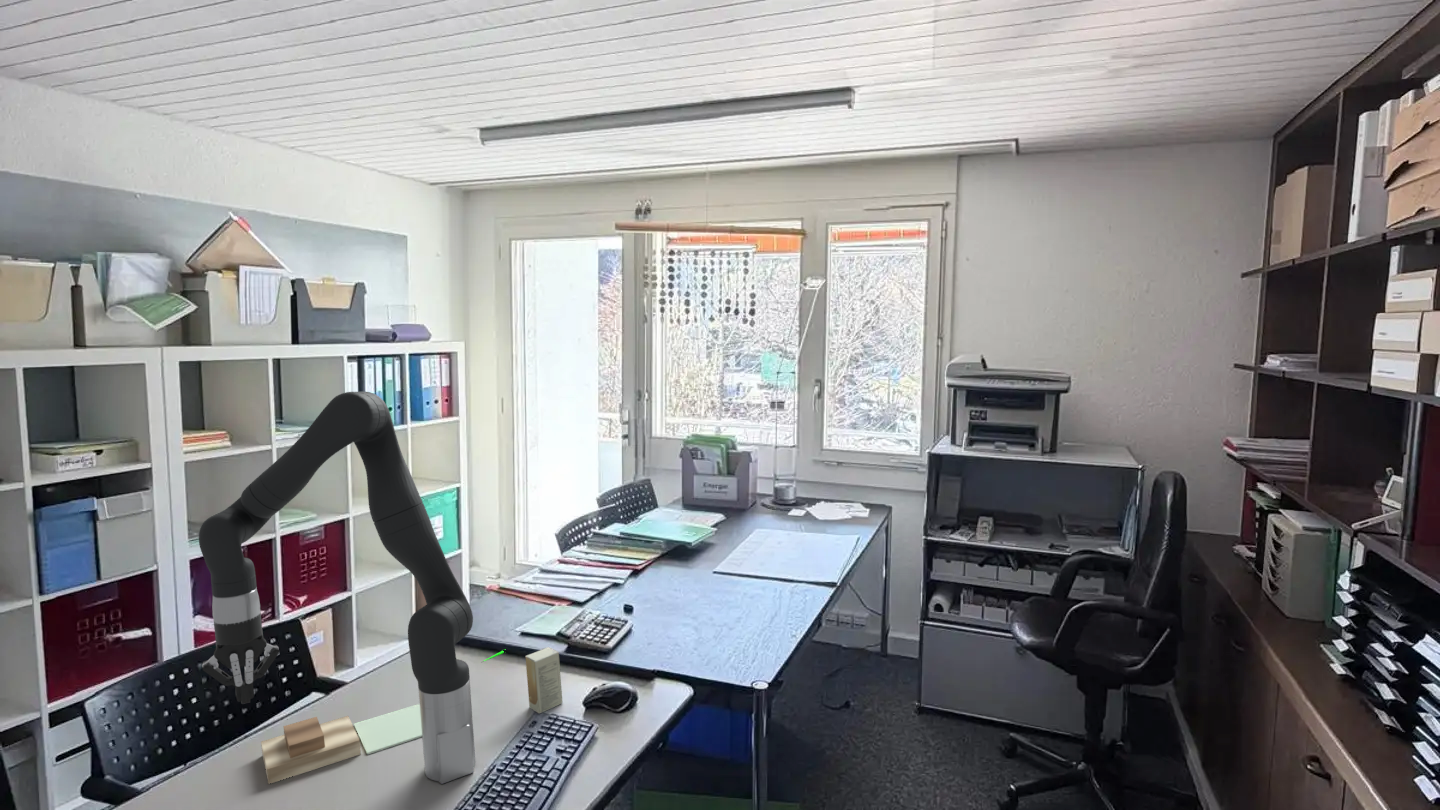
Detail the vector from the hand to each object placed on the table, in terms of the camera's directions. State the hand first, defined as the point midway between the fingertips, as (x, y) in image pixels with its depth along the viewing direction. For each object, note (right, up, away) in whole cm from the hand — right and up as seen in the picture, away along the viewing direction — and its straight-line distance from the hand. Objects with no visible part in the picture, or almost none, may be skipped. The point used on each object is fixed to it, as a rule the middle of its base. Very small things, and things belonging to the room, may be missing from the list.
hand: (245, 701), depth 147 cm
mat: (+24, -12, +18) cm, 32 cm away
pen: (+34, -8, +52) cm, 63 cm away
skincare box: (+52, -11, +24) cm, 58 cm away
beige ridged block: (+9, -14, +7) cm, 18 cm away
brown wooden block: (+8, -9, +6) cm, 14 cm away
